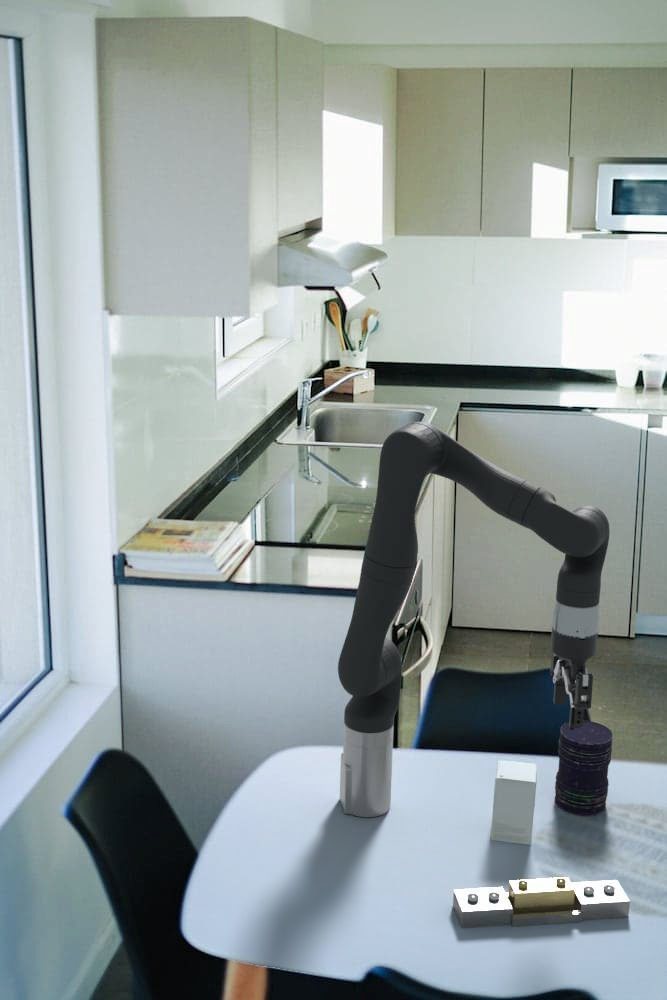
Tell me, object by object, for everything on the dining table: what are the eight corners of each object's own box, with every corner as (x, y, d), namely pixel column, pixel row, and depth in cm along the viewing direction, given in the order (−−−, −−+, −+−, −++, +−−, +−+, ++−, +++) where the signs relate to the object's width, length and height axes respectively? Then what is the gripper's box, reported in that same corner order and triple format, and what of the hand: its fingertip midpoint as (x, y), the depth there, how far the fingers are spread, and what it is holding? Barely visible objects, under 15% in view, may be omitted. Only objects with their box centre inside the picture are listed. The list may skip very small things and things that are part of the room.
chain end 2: (546, 924, 201) (548, 904, 200) (534, 898, 208) (535, 879, 207) (629, 918, 203) (631, 899, 202) (614, 893, 210) (616, 875, 209)
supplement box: (531, 846, 223) (536, 782, 220) (489, 840, 225) (494, 777, 221) (533, 824, 230) (538, 763, 227) (493, 819, 231) (497, 758, 228)
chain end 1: (462, 929, 199) (463, 910, 198) (452, 903, 206) (453, 884, 205) (546, 924, 201) (548, 904, 200) (534, 898, 208) (535, 879, 207)
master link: (513, 920, 202) (515, 890, 201) (507, 907, 205) (509, 877, 204) (572, 916, 204) (575, 886, 202) (565, 903, 207) (568, 874, 205)
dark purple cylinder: (614, 799, 240) (621, 729, 235) (595, 822, 232) (602, 749, 227) (565, 784, 245) (571, 715, 240) (545, 806, 237) (551, 734, 232)
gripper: (540, 611, 212) (533, 698, 217) (567, 643, 199) (559, 735, 203) (582, 609, 213) (575, 696, 218) (612, 642, 200) (603, 734, 204)
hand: (567, 715), depth 211 cm, fingers open, 8 cm apart
